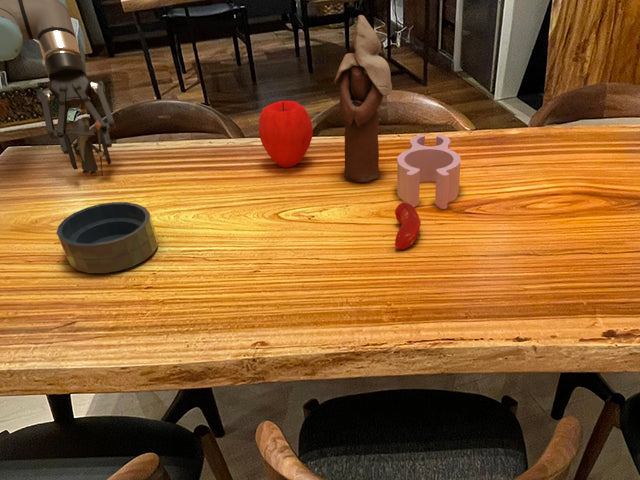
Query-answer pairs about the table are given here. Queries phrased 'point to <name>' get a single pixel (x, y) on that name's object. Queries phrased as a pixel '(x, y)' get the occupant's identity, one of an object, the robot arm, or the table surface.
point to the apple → (285, 132)
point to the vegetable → (406, 225)
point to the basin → (108, 237)
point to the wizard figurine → (87, 146)
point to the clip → (428, 170)
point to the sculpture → (362, 102)
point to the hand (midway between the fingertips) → (91, 163)
